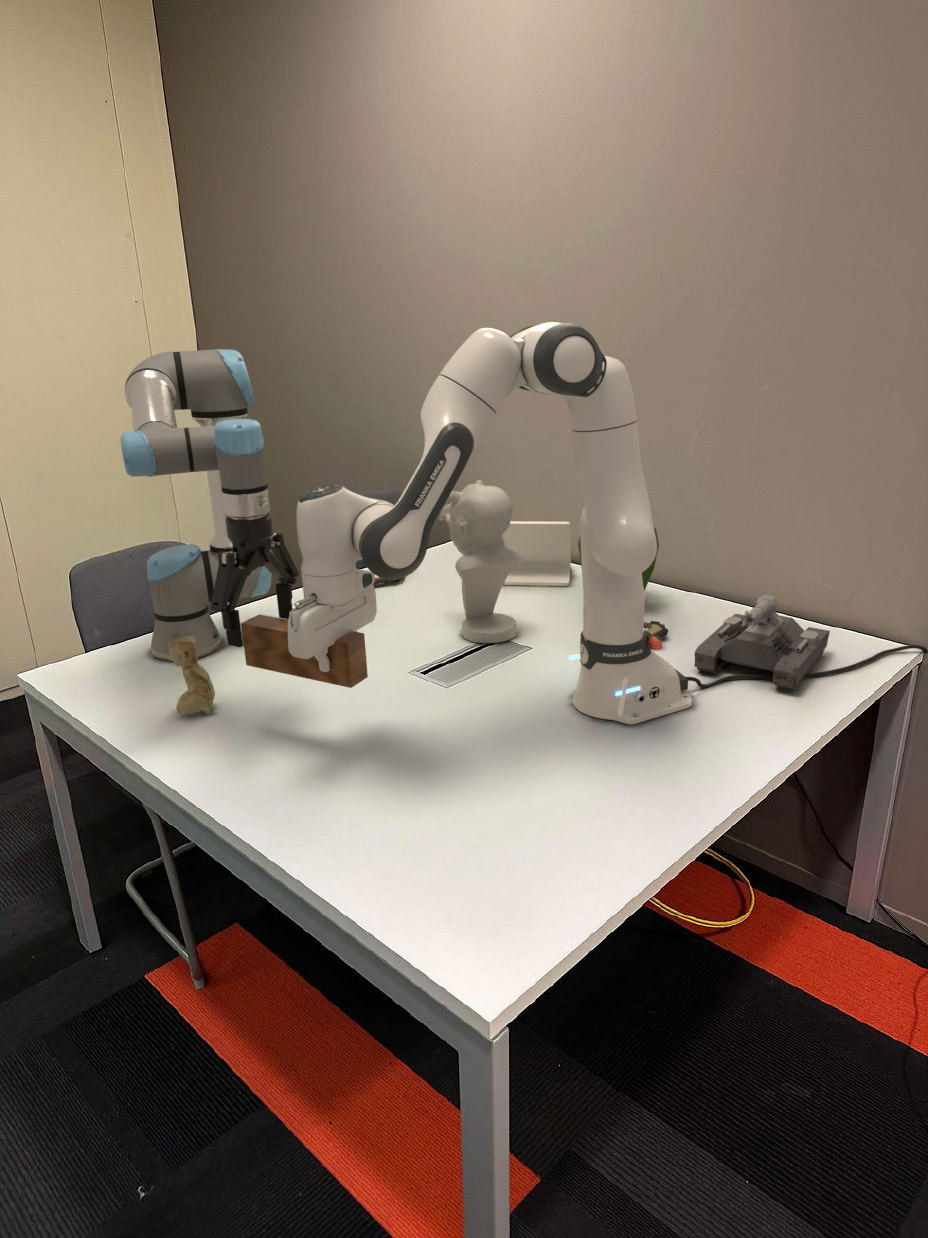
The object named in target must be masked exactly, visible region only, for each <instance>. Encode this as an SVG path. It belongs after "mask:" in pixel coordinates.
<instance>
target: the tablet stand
mask: <svg viewBox="0 0 928 1238" xmlns="http://www.w3.org/2000/svg"><path fill="white" fill-rule="evenodd" d="M502 538H503V540H504V544H505V546H506V547H513V548H515V549H517V550H518V551H519V552H520V554H521V556H522V558H523V560H522V561H521V562H520V563H518V564H517V565H516V566H515V567H514V568H513V570H512V571H511V572H510V573H509V575H508V576H507V578H506V580H505V582H504V584H503V586H541V587H542V586H543V587H544V586H545V587H546V586H547V587H549V586H551V587H556V586H557V587H569V586H570V580H571V579H570V578H571V565H572V564H571V560H572V558H571V522H569V521H537V520H536V521H529V520H528V521H525V520H524V521H523V520H522V521H521V520H520V521H519V520H517V521H516V520H515V521H514V520H511V522H510V525H509V527H508V529H507V530H506V531H505V532H504V533H503V534H502Z"/></svg>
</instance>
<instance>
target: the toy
mask: <svg viewBox="0 0 928 1238" xmlns="http://www.w3.org/2000/svg"><path fill="white" fill-rule="evenodd" d="M777 608H778V601H777V599H776V598H775V597H774V596H773V595H771V594H763V595H761V596H759V597H758V598H757V600H756V602H755V606H753V608H752V609H751V610H750V611H749V610H746V611H745V612H744V614H740V613H734V614H733V615H731V616H728V617H727V618H725V620H723V624H721V625H720V626H719V627H718V628H717V629H716V630H715V631H714V632H712V634H710V635H709V636H708V637H706V639H704V640H703V641H702V642H701V643H700V644H699V645H698V646H697V647H696V649H695V651H694V667H695V668H696V669H697V670H698V671H702V672H706V673H710V674H715V675H716V674H717V673H719V671H720V670H721V669H722V668H723V667H724V666H725V665H726V664H728V663H731V664H735V665H740V666H743V667H748V668H753V669H758V670H763V671H769V672H773V674H772V675H773V679H772V683H771V684H772V685H774V686H775V687H778V688H784V689H788V690H793V691H795V690H796V689H797V687H798V686H799V685H800V684H801V682H802V681H803V680H804V679H805V678H806V677H805V675H806V673H810V671H811V669H812V668H813V667H814V666H815V665H816V663H817V662H818V661H819V660H820V658H821V657H822V655H823V654H824V652H825V650H826V648H827V647H828V644H829V643H828V642H829V637H830V632H831V630H828V629H822V628H816V627H812V626H808V627H807V628H805V629H804V628H803V627H802V626H801V625H800V624H799V623H798V622H797V621H796V620H795V619H794V618H793V617H790V616H783V615H780V614H778V613H777V612H776V610H777Z"/></svg>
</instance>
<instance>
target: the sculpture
mask: <svg viewBox="0 0 928 1238" xmlns="http://www.w3.org/2000/svg"><path fill="white" fill-rule="evenodd" d="M168 647H169V660H171V661H170V662H173V663H174V666H175V667H181V672H182V673H181V674H182V675H183V679H184V682H185V684H186V687H187V690H186V691H184V693H182V694H181V695H180V696H179V698H178V700H177V703H176V706H175V710H176V711H177V713H178V714H180V715H184V716H185V715H187V716H188V715H192V714H196V713H197V712H200V711H203V712H204V713H205V714H208V713H211V711H212V709H213V705H214V699H215V697H216V690H215V688H214V685H213V682H212V680H211V677H210V674H209V672H208V671H207V670H206V668H205V667H203V666H202V665H201V664H199V662H198V658H197V646H196V638H193V637H181V638H174V639H171V640H170V642H169V645H168Z"/></svg>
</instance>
